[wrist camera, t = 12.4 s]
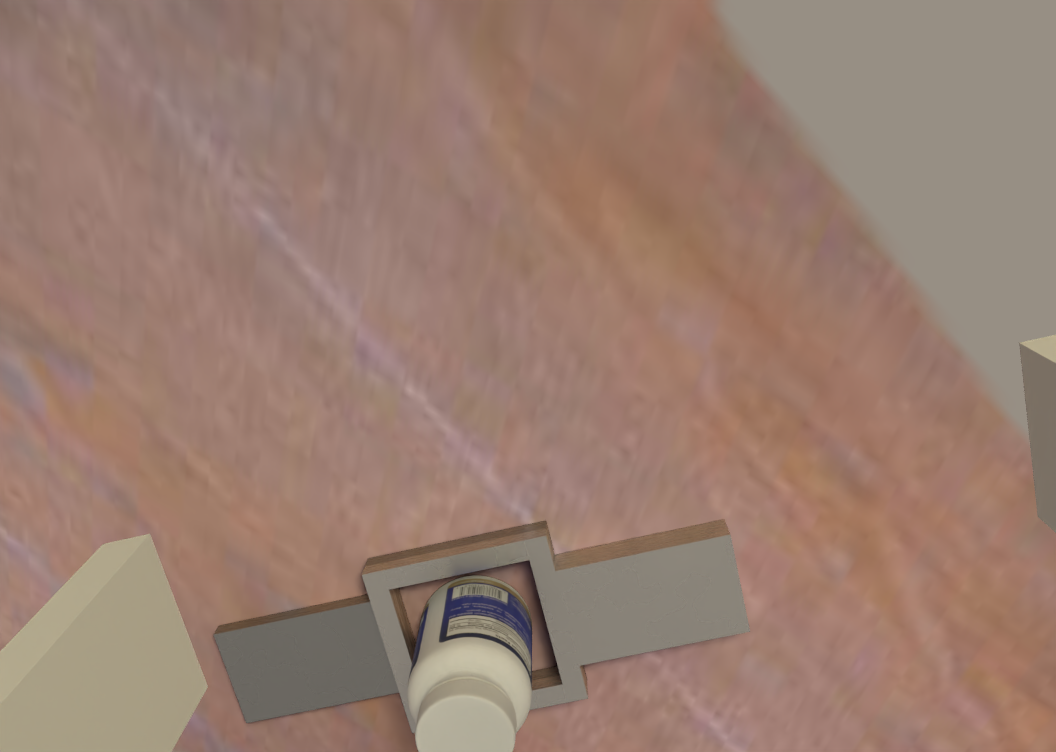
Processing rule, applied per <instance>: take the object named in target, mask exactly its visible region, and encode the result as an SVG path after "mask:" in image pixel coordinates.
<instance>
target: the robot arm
mask: <svg viewBox="0 0 1056 752" xmlns="http://www.w3.org/2000/svg"><path fill="white" fill-rule="evenodd" d="M1019 344H1020V354H1021V363H1022V372H1023V382H1024V391H1025V401H1026V410H1027V420H1028V429H1029V439H1030V448H1031V457H1032V467H1033V476H1034V485H1035V495H1036V504H1037V514H1038V517H1039V518H1040V519H1041V520H1042V521H1043V522H1044V523H1045V524H1047V525H1048V526H1049V527H1050V528H1051V529H1052V530H1053V531H1054V532H1056V335H1053V336H1048V337H1044V338H1039V339H1035V340H1030V341H1026V342H1021V343H1019ZM207 687H208V686H207V683H206V680H205V678H204V675H203V672H202V670H201V667H200V665H199V662H198V659H197V657H196V654H195V651H194V649H193V646H192V644H191V641H190V638H189V636H188V633H187V630H186V628H185V625H184V622H183V620H182V617H181V615H180V612H179V609H178V607H177V604H176V601H175V599H174V596H173V593H172V591H171V588H170V586H169V583H168V580H167V578H166V575H165V572H164V570H163V567H162V565H161V562H160V559H159V557H158V554H157V551H156V549H155V546H154V543H153V541H152V538H151V536H150V534H147V535H142V536H138V537H133V538H129V539H124V540H120V541H115V542H111V543H106V544H103V545H102V546H101V547H100V548H99V549H98V550H97V551H96V552H95V553H94V554H93V555H92V556H91V557H90V558H89V559H88V560H87V561H86V562H85V563H84V565H83V566H82V567H81V568H80V569H79V570H78V571H77V572H76V573H75V574H74V575H73V576H72V577H71V578H70V579H69V580H68V581H67V582H66V583H65V584H64V585H63V586H62V588H61V589H60V590H59V591H58V592H57V593H56V594H55V595H54V596H53V597H52V598H51V599H50V600H49V601H48V602H47V603H46V604H45V605H44V606H43V607H42V608H41V609H40V611H39V612H38V613H37V614H36V615H35V616H34V617H33V618H32V619H31V620H30V621H29V622H28V623H27V624H26V625H25V626H24V627H23V628H22V629H21V630H20V631H19V632H18V633H17V635H16V636H15V637H14V638H13V639H12V640H11V641H10V642H9V643H8V644H7V645H6V646H5V647H4V648H3V649H2V650H1V651H0V752H172V750H173V748H174V746H175V745H176V743H177V741H178V739H179V738H180V736H181V734H182V732H183V730H184V729H185V727H186V725H187V723H188V721H189V720H190V718H191V716H192V714H193V712H194V711H195V709H196V707H197V705H198V704H199V702H200V700H201V698H202V696H203V695H204V693H205V691H206V689H207Z"/></svg>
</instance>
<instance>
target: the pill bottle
mask: <svg viewBox="0 0 1056 752" xmlns="http://www.w3.org/2000/svg"><path fill="white" fill-rule="evenodd" d="M531 696H532V620H531V615H530V611H529V609H528V606H527V604H526V603H525V601H524V599H523V598H522V597H521V595H520V594H519V593H518V592H517V591H516V590H515V589H514V588H512V587H511V586H510V585H508V584H506V583H505V582H503V581H501V580H498V579H495V578H492V577H488V576H480V575H472V576H465V577H461V578H457V579H455V580H452V581H450V582H448V583H446V584H445V585H443V586H442V587H440V588H439V589H438V590H437V591H436V592H435V593H434V594H433V595H432V596H431V598H430V599H429V601H428V602H427V604H426V606H425V609H424V612H423V615H422V618H421V623H420V628H419V633H418V637H417V642H416V647H415V652H414V657H413V661H412V666H411V671H410V675H409V680H408V689H407V699H408V706H409V710H410V713H411V715H412V717H413V719H414V721H415V723H416V730H415V740H416V746H417V749H418V752H513V749H514V745H515V738H516V733H517V732H518V730H519V729H520V728H521V726H522V725H523V723H524V722H525V720H526V718H527V715H528V713H529V709H530V705H531Z"/></svg>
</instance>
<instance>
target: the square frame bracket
mask: <svg viewBox="0 0 1056 752" xmlns="http://www.w3.org/2000/svg"><path fill="white" fill-rule="evenodd" d="M528 560H530V564H531V567H532V571H533V575H534V579H535V582H536V586H537V590H538V594H539V598H540V601H541V605H542V609H543V613H544V616H545V620H546V624H547V628H548V631H549V635H550V639H551V643H552V646H553V650H554V654H555V658H556V661H557V665H558V666H556V667H551V668H546V669H541V670H536V671H532V696H531V705H530V709H529V710H532V709H537V708H542V707H547V706H552V705H557V704H562V703H567V702H573V701H578V700H583V699H588V688H587V677H586V673H585V670H584V666H583V665H586V664H591V663H596V662H601V661H606V660H611V659H616V658H621V657H626V656H631V655H636V654H641V653H646V652H651V651H656V650H661V649H666V648H671V647H676V646H681V645H686V644H691V643H696V642H701V641H706V640H711V639H715V638H720V637H725V636H730V635H735V634H740V633H745V632H750V629H749V624H748V619H747V614H746V609H745V604H744V599H743V594H742V589H741V584H740V580H739V575H738V570H737V565H736V560H735V555H734V550H733V545H732V540H731V535H730V532H729V530H728V527H727V525H726V522H725V520H719V521H714V522H709V523H705V524H700V525H695V526H690V527H686V528H681V529H676V530H671V531H667V532H662V533H657V534H652V535H648V536H643V537H638V538H633V539H629V540H624V541H619V542H614V543H610V544H605V545H600V546H595V547H591V548H586V549H581V550H576V551H572V552H567V553H562V554H557V555H555V553H554V549H553V545H552V542H551V538H550V534H549V530H548V526H547V522H546V521H542V522H537V523H532V524H528V525H523V526H518V527H514V528H509V529H504V530H500V531H495V532H490V533H486V534H481V535H476V536H472V537H467V538H462V539H458V540H453V541H448V542H444V543H439V544H434V545H429V546H425V547H420V548H415V549H411V550H406V551H401V552H397V553H392V554H387V555H383V556H378V557H373V558H369V559H367V562H366V565H365V567H364V570H363V573H362V577H363V581H364V584H365V587H366V590H367V593H368V594H367V595H363V596H358V597H353V598H348V599H344V600H339V601H334V602H329V603H325V604H320V605H315V606H310V607H306V608H301V609H296V610H291V611H287V612H282V613H277V614H272V615H268V616H263V617H258V618H253V619H249V620H244V621H239V622H234V623H230V624H225V625H220V626H218V628H217V630H216V631H215V633H214V637H215V640H216V643H217V645H218V648H219V651H220V653H221V656H222V659H223V662H224V664H225V667H226V670H227V672H228V675H229V678H230V680H231V683H232V686H233V688H234V691H235V694H236V696H237V699H238V702H239V704H240V707H241V710H242V713H243V715H244V718H245V721H246V723H250V722H255V721H260V720H265V719H270V718H275V717H280V716H285V715H290V714H295V713H300V712H305V711H310V710H314V709H319V708H324V707H329V706H334V705H339V704H344V703H349V702H354V701H359V700H364V699H369V698H374V697H379V696H384V695H389V694H394V693H400V697H401V700H402V703H403V706H404V709H405V712H406V715H407V718H408V722H409V725H410V728H411V731H412V733H415V730H416V723H415V721H414V719H413V717H412V715H411V713H410V710H409V706H408V699H407V689H408V680H409V675H410V671H411V666H412V661H413V657H414V652H415V647H416V643H415V639H414V636H413V633H412V630H411V626H410V623H409V620H408V617H407V613H406V610H405V607H404V604H403V601H402V597H401V594H400V591H399V587H404V586H409V585H414V584H418V583H423V582H428V581H433V580H437V579H442V578H447V577H452V576H456V575H461V574H466V573H471V572H475V571H480V570H485V569H490V568H494V567H499V566H504V565H509V564H513V563H518V562H523V561H528Z"/></svg>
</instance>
